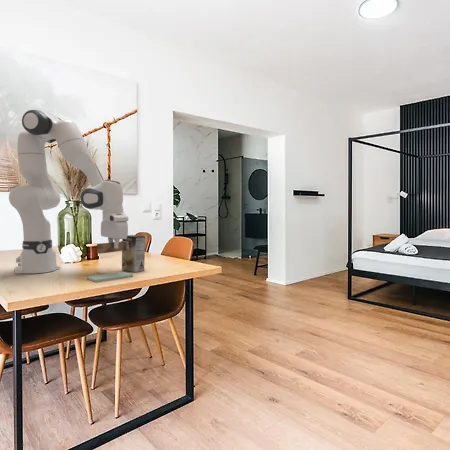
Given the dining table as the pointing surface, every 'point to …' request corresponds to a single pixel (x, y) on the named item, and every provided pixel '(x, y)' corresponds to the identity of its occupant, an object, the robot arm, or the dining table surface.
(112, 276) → the mat
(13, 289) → the dining table surface
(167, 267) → the dining table surface
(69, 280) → the dining table surface
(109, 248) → the brown wooden block
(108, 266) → the dining table surface
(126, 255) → the coffee box
